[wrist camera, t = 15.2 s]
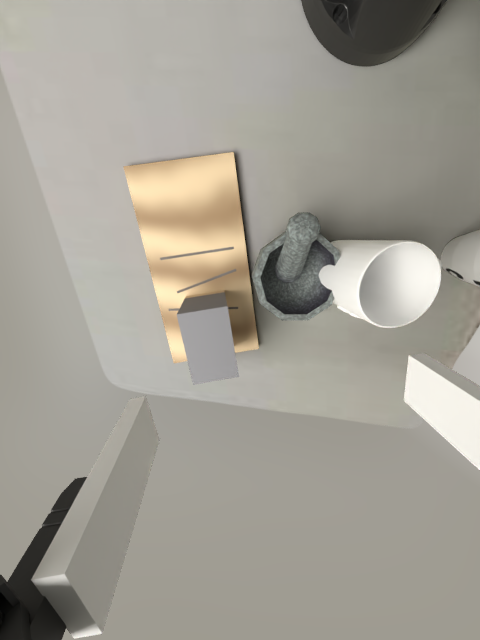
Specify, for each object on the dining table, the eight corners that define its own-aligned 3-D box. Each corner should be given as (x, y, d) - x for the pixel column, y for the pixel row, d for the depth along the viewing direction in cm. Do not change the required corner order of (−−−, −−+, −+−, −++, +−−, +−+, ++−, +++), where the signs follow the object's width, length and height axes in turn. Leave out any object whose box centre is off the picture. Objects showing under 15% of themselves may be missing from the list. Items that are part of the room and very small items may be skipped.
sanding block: (185, 296, 32) (176, 314, 24) (224, 290, 32) (227, 306, 24) (197, 352, 34) (193, 384, 27) (233, 346, 34) (239, 376, 27)
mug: (393, 287, 35) (479, 310, 24) (312, 307, 35) (359, 340, 23) (392, 226, 32) (488, 220, 21) (304, 247, 32) (354, 252, 21)
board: (126, 169, 28) (123, 166, 27) (232, 154, 28) (233, 151, 27) (175, 359, 35) (173, 363, 34) (257, 345, 36) (258, 348, 35)
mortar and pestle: (322, 294, 34) (375, 322, 23) (258, 314, 34) (279, 352, 23) (307, 210, 31) (361, 193, 19) (235, 232, 31) (247, 228, 19)
